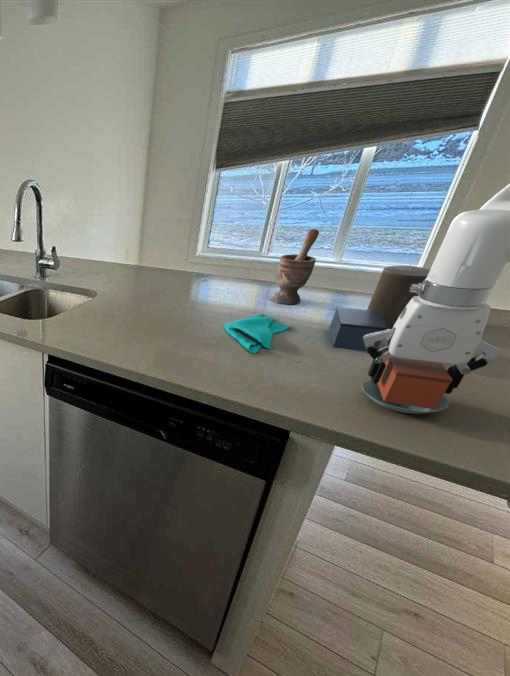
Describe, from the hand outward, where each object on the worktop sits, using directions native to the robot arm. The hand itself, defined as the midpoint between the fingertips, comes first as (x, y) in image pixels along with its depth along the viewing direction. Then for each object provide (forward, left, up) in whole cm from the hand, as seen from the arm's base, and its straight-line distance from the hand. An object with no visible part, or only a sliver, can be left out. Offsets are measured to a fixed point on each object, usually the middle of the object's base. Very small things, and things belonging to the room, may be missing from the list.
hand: (408, 384), depth 73 cm
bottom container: (+4, -29, -4) cm, 30 cm away
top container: (0, 0, -2) cm, 2 cm away
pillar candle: (-5, -44, -4) cm, 44 cm away
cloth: (+25, -27, -4) cm, 37 cm away
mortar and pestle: (+17, -57, -4) cm, 60 cm away
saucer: (0, 0, -4) cm, 4 cm away
